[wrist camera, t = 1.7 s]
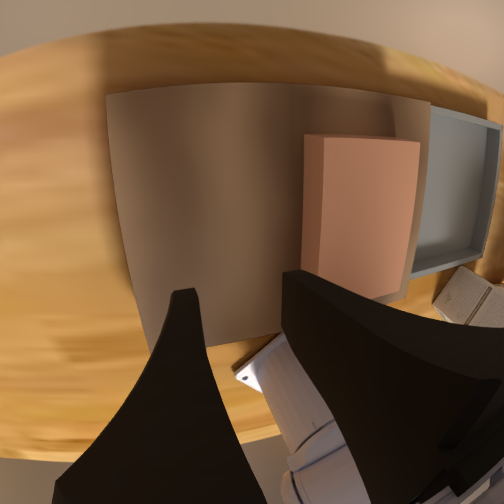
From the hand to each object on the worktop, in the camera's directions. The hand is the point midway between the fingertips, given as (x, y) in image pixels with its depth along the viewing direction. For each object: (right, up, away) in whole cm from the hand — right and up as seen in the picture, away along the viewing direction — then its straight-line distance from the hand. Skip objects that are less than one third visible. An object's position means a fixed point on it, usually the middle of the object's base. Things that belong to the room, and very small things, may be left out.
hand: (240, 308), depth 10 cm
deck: (+2, +5, +10) cm, 12 cm away
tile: (+6, +4, +8) cm, 10 cm away
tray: (+17, +7, +14) cm, 23 cm away
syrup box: (+23, -3, +21) cm, 32 cm away
